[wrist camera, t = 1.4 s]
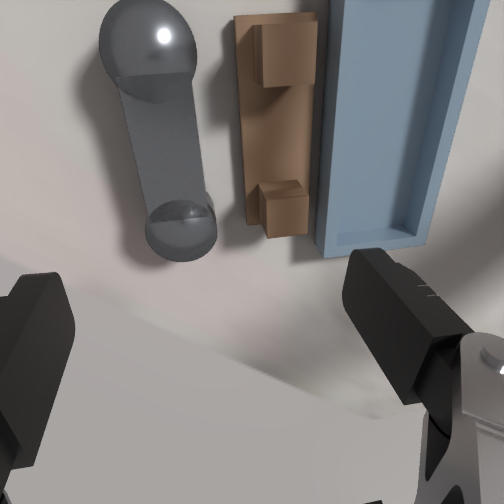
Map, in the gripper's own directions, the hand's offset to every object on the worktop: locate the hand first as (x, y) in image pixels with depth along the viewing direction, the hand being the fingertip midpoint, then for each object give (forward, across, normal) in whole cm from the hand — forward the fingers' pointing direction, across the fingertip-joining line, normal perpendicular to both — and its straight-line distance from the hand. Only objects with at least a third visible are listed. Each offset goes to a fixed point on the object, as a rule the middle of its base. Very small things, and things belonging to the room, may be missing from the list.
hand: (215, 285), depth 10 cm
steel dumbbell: (+18, +1, 0) cm, 18 cm away
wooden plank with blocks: (+17, -6, 0) cm, 18 cm away
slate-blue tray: (+17, -14, -1) cm, 22 cm away
